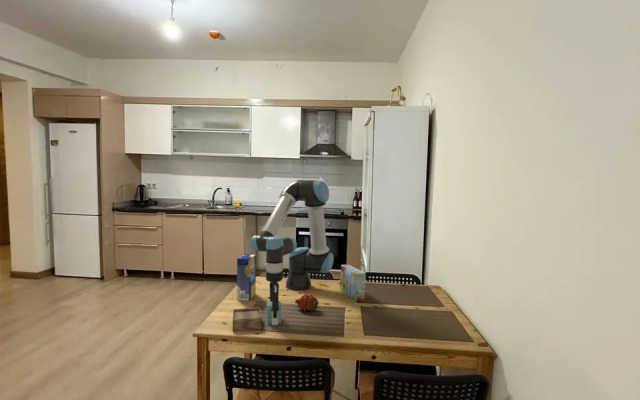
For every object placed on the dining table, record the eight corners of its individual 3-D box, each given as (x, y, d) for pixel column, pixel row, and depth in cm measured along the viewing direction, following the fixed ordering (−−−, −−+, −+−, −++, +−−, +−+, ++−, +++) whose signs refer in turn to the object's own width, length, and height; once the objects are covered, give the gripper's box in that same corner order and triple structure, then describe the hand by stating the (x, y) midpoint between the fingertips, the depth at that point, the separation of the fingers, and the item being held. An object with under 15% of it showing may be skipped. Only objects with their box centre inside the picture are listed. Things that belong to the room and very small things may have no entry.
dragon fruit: (319, 315, 173) (296, 316, 176) (322, 300, 179) (299, 301, 182) (315, 305, 168) (291, 305, 171) (317, 290, 174) (294, 291, 177)
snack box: (365, 300, 190) (366, 273, 189) (356, 302, 188) (357, 274, 187) (348, 289, 210) (348, 263, 209) (339, 290, 208) (340, 264, 207)
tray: (259, 318, 164) (260, 307, 164) (261, 329, 152) (261, 317, 152) (233, 319, 162) (233, 309, 161) (232, 331, 150) (232, 319, 150)
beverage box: (255, 293, 198) (255, 254, 196) (249, 300, 187) (249, 259, 185) (243, 293, 199) (243, 254, 197) (236, 299, 188) (237, 258, 186)
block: (279, 317, 165) (279, 300, 165) (281, 323, 159) (281, 305, 159) (266, 318, 164) (266, 301, 163) (267, 324, 158) (267, 306, 157)
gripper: (264, 265, 170) (263, 311, 171) (267, 278, 149) (267, 331, 150) (280, 265, 172) (279, 310, 173) (285, 277, 150) (284, 329, 152)
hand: (273, 320), depth 162 cm, fingers open, 9 cm apart
